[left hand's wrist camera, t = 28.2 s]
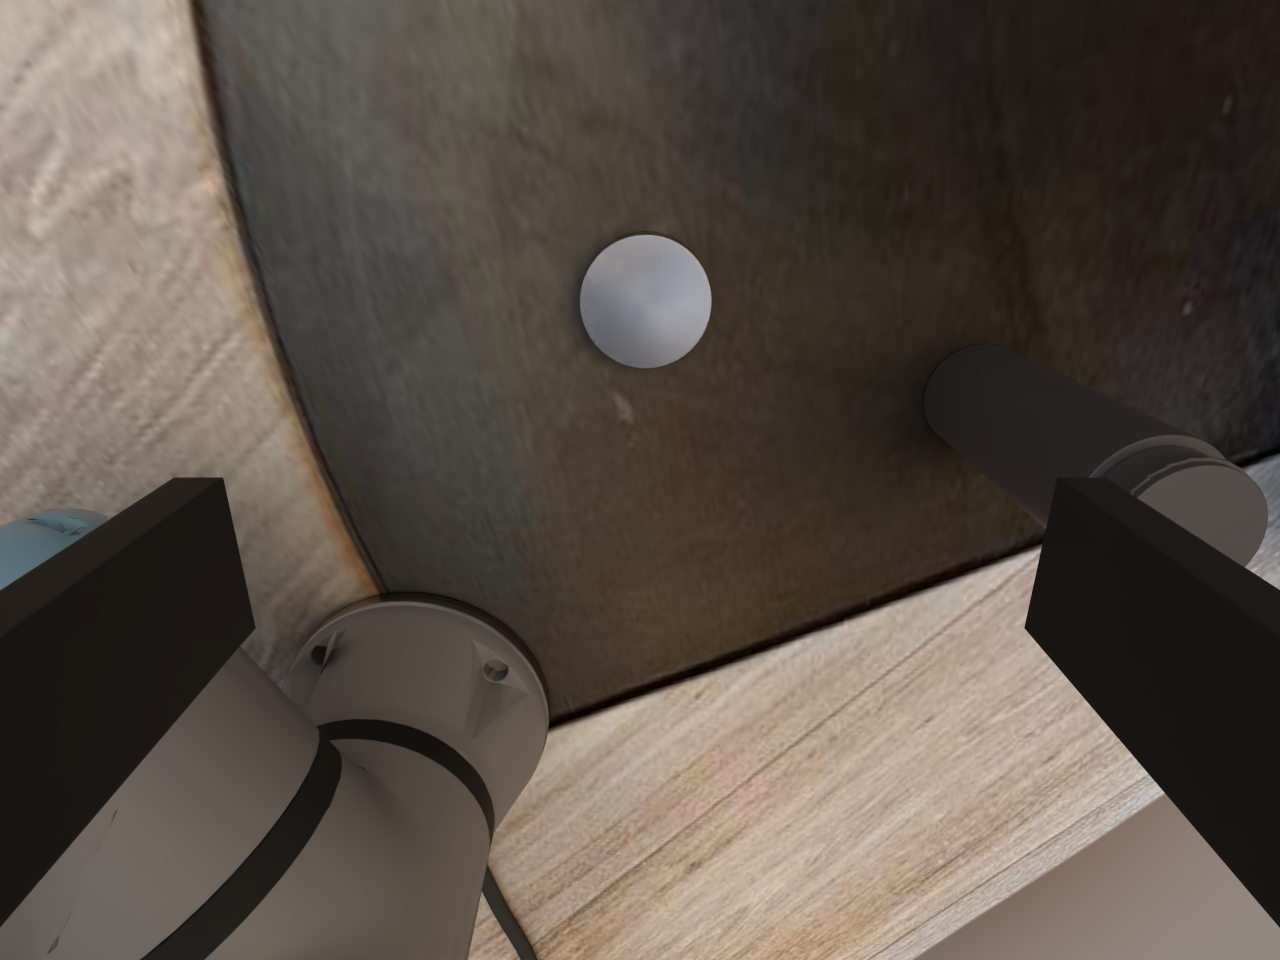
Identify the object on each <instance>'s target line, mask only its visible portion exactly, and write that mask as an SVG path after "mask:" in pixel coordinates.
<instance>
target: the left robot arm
mask: <svg viewBox="0 0 1280 960" xmlns="http://www.w3.org/2000/svg"><path fill="white" fill-rule="evenodd" d="M254 629H255V623H254V619H253V614H252V609H251V605H250V600H249V596H248V591H247V586H246V582H245V577H244V572H243V568H242V563H241V559H240V554H239V549H238V545H237V540H236V535H235V531H234V526H233V522H232V517H231V512H230V508H229V503H228V498H227V494H226V489H225V485H224V480H223V478H173V479H171V480H170V481H168V482H167V483H165V484H164V485H162V486H161V487H159V488H158V489H156V490H154V491H153V492H151V493H150V494H148V495H147V496H145V497H144V498H142V499H141V500H139V501H137V502H136V503H134V504H133V505H131V506H130V507H128V508H127V509H125V510H124V511H122V512H120V513H119V514H117V515H116V516H114V517H113V518H111V519H110V518H108V517H106V516H104V515H102V514H99V513H96V512H92V511H88V510H82V509H60V510H53V511H48V512H43V513H40V514H36V515H33V516H29V517H26V518H23V519H21V520H18V521H15V522H12V523H10V524H7V525H5V526H2V527H0V960H468V956H469V951H470V946H471V941H472V936H473V931H474V926H475V921H476V916H477V911H478V906H479V901H480V896H481V891H482V892H483V894H484V896H485V898H486V900H487V902H488V904H489V906H490V908H491V910H492V912H493V913H494V915H495V917H496V919H497V920H498V922H499V924H500V925H501V927H502V929H503V930H504V932H505V933H506V935H507V936H508V938H509V940H510V941H511V943H512V944H513V946H514V948H515V949H516V951H517V953H518V955H519V957H520V959H521V960H537V958H536V955H535V953H534V951H533V948H532V946H531V944H530V943H529V941H528V939H527V937H526V935H525V934H524V932H523V930H522V929H521V927H520V926H519V924H518V922H517V921H516V919H515V918H514V916H513V914H512V913H511V911H510V909H509V907H508V906H507V904H506V902H505V900H504V898H503V896H502V894H501V892H500V890H499V888H498V886H497V884H496V882H495V880H494V878H493V876H492V873H491V871H490V869H489V867H488V865H487V861H488V856H489V851H490V847H491V842H492V838H493V834H494V832H495V830H496V829H497V827H498V826H499V824H500V823H501V821H502V820H503V818H504V817H505V815H506V814H507V812H508V811H509V809H510V808H511V807H512V805H513V804H514V802H515V801H516V799H517V798H518V796H519V795H520V793H521V792H522V790H523V789H524V787H525V786H526V785H527V783H528V782H529V780H530V779H531V777H532V775H533V773H534V772H535V770H536V767H537V765H538V763H539V760H540V758H541V755H542V752H543V750H544V746H545V743H546V739H547V733H548V727H549V720H550V699H549V692H548V688H547V684H546V681H545V678H544V675H543V673H542V671H541V669H540V666H539V664H538V663H537V661H536V659H535V658H534V656H533V655H532V653H531V652H530V650H529V649H528V648H527V647H526V645H525V644H524V643H523V642H522V641H521V640H520V639H519V638H518V637H517V636H516V635H515V634H514V633H513V632H512V631H511V630H510V629H509V628H507V627H506V626H505V625H503V624H502V623H501V622H499V621H498V620H497V619H495V618H493V617H492V616H490V615H488V614H487V613H485V612H483V611H481V610H479V609H477V608H475V607H473V606H470V605H468V604H465V603H463V602H460V601H456V600H453V599H450V598H446V597H441V596H436V595H430V594H422V593H395V594H387V595H381V596H376V597H372V598H368V599H365V600H362V601H359V602H356V603H354V604H352V605H350V606H347V607H345V608H344V609H342V610H340V611H338V612H337V613H335V614H334V615H332V616H331V617H330V618H328V619H327V620H326V621H325V622H323V623H322V624H321V625H320V626H319V627H318V628H317V629H316V630H315V631H314V633H313V634H312V635H311V636H310V638H309V639H308V640H307V642H306V643H305V645H304V646H303V647H302V649H301V650H300V652H299V653H298V655H297V656H296V658H295V660H294V662H293V664H292V666H291V668H290V671H289V673H288V675H287V677H286V680H285V683H284V685H283V689H282V690H281V689H280V688H279V687H278V686H277V685H276V684H275V683H274V682H273V681H272V680H271V679H270V678H269V677H268V676H267V675H266V673H265V672H264V671H263V670H262V669H261V668H260V667H259V666H258V665H257V664H256V663H255V662H254V661H253V660H252V659H251V658H250V656H249V655H248V654H247V653H246V652H245V651H244V650H243V649H242V648H241V647H240V646H241V644H242V643H243V642H244V641H245V640H246V639H247V637H248V636H249V635H250V634H251V633H252V632H253V630H254ZM1025 629H1026V630H1027V632H1028V633H1029V634H1030V635H1031V636H1032V637H1033V639H1034V640H1035V641H1036V642H1037V643H1038V644H1039V646H1040V647H1041V648H1042V649H1043V650H1044V651H1045V653H1046V654H1047V655H1048V656H1049V657H1050V659H1051V660H1052V661H1053V662H1054V663H1055V664H1056V666H1057V667H1058V668H1059V669H1060V670H1061V671H1062V673H1063V674H1064V675H1065V676H1066V677H1067V678H1068V680H1069V681H1070V682H1071V683H1072V684H1073V686H1074V687H1075V688H1076V689H1077V690H1078V691H1079V693H1080V694H1081V695H1082V696H1083V697H1084V698H1085V700H1086V701H1087V702H1088V703H1089V704H1090V705H1091V707H1092V708H1093V709H1094V710H1095V711H1096V713H1097V714H1098V715H1099V716H1100V717H1101V718H1102V720H1103V721H1104V722H1105V723H1106V724H1107V725H1108V727H1109V728H1110V729H1111V730H1112V731H1113V732H1114V734H1115V735H1116V736H1117V737H1118V738H1119V739H1120V741H1121V742H1122V743H1123V744H1124V745H1125V747H1126V748H1127V749H1128V750H1129V751H1130V752H1131V754H1132V755H1133V756H1134V757H1135V758H1136V759H1137V761H1138V762H1139V763H1140V764H1141V765H1142V766H1143V768H1144V769H1145V770H1146V771H1147V772H1148V774H1149V775H1150V776H1151V777H1152V778H1153V779H1154V781H1155V782H1156V783H1157V784H1158V785H1159V786H1160V788H1161V789H1162V790H1163V791H1164V792H1165V793H1166V795H1167V796H1168V797H1169V798H1170V799H1171V800H1172V802H1173V803H1174V804H1175V805H1176V806H1177V808H1178V809H1179V810H1180V811H1181V812H1182V813H1183V814H1184V816H1185V817H1186V818H1187V819H1188V820H1189V822H1190V823H1191V824H1192V825H1193V826H1194V828H1195V829H1196V830H1197V831H1198V832H1199V833H1200V835H1201V836H1202V837H1203V838H1204V839H1205V840H1206V842H1207V843H1208V844H1209V845H1210V846H1211V847H1212V849H1213V850H1214V851H1215V852H1216V853H1217V854H1218V856H1219V857H1220V858H1221V859H1222V860H1223V861H1224V863H1225V864H1226V865H1227V866H1228V867H1229V869H1230V870H1231V871H1232V872H1233V873H1234V874H1235V876H1236V877H1237V878H1238V879H1239V880H1240V881H1241V883H1242V884H1243V885H1244V886H1245V887H1246V889H1247V890H1248V891H1249V892H1250V893H1251V894H1252V896H1253V897H1254V898H1255V899H1256V900H1257V901H1258V903H1259V904H1260V905H1261V906H1262V907H1263V908H1264V910H1265V911H1266V912H1267V913H1268V914H1269V916H1270V917H1271V918H1272V919H1273V920H1274V921H1275V922H1276V924H1277V925H1278V926H1279V927H1280V590H1279V589H1277V588H1276V587H1274V586H1273V585H1271V584H1269V583H1268V582H1266V581H1265V580H1263V579H1262V578H1260V577H1259V576H1257V575H1256V574H1254V573H1252V572H1251V571H1249V570H1248V569H1246V568H1245V567H1243V566H1242V565H1240V564H1239V563H1237V562H1235V561H1234V560H1232V559H1231V558H1229V557H1228V556H1226V555H1225V554H1223V553H1221V552H1220V551H1218V550H1217V549H1215V548H1214V547H1212V546H1211V545H1209V544H1208V543H1206V542H1204V541H1203V540H1201V539H1200V538H1198V537H1197V536H1195V535H1194V534H1192V533H1191V532H1189V531H1187V530H1186V529H1184V528H1183V527H1181V526H1180V525H1178V524H1177V523H1175V522H1174V521H1172V520H1170V519H1169V518H1167V517H1166V516H1164V515H1163V514H1161V513H1160V512H1158V511H1156V510H1155V509H1153V508H1152V507H1150V506H1149V505H1147V504H1146V503H1144V502H1143V501H1141V500H1139V499H1138V498H1136V497H1135V496H1133V495H1132V494H1130V493H1129V492H1127V491H1126V490H1124V489H1122V488H1121V487H1119V486H1118V485H1116V484H1115V483H1113V482H1112V481H1110V480H1109V479H1107V478H1057V480H1056V485H1055V489H1054V494H1053V498H1052V503H1051V508H1050V512H1049V517H1048V522H1047V526H1046V531H1045V535H1044V540H1043V545H1042V549H1041V554H1040V559H1039V563H1038V568H1037V572H1036V577H1035V582H1034V586H1033V591H1032V596H1031V600H1030V605H1029V609H1028V614H1027V619H1026V623H1025Z"/></svg>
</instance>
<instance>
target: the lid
mask: <svg viewBox="0 0 1280 960" xmlns="http://www.w3.org/2000/svg"><path fill="white" fill-rule="evenodd" d="M711 309H712V293H711V288H710V283H709V280H708V277H707V275H706V273H705V270H704V268H703V267H702V265H701V264H700V262H699V261H698V259H697V258H696V256H695V255H694V254H693V253H692V252H691V251H690V249H688V248H687V247H686V246H685V245H684V244H682V243H681V242H680V241H678V240H677V239H674V238H672V237H670V236H668V235H665V234H662V233H657V232H649V231H642V232H634V233H630V234H626V235H624V236H621V237H619V238H617V239H615V240H613V241H612V242H610V243H609V244H608V245H606V246H605V247H604V248H603V249H602V250H601V251H600V252H599V253H598V254H597V255H596V257H595V258H594V259H593V261H592V263H591V265H590V266H589V268H588V270H587V272H586V274H585V276H584V279H583V282H582V286H581V291H580V313H581V317H582V321H583V324H584V327H585V329H586V332H587V333H588V335H589V337H590V339H591V340H592V341H593V343H594V344H595V345H596V346H597V347H598V349H599V350H600V351H601V352H603V353H604V354H605V355H606V356H608V357H609V358H611V359H612V360H614V361H616V362H618V363H620V364H623V365H626V366H629V367H634V368H642V369H649V368H658V367H662V366H666V365H668V364H671V363H673V362H675V361H677V360H679V359H681V358H682V357H683V356H685V355H686V354H687V353H689V352H690V351H691V350H692V349H693V348H694V347H695V346H696V344H697V343H698V342H699V340H700V339H701V337H702V336H703V334H704V332H705V330H706V328H707V325H708V323H709V320H710V315H711Z"/></svg>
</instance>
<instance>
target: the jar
mask: <svg viewBox="0 0 1280 960" xmlns="http://www.w3.org/2000/svg"><path fill="white" fill-rule="evenodd" d="M924 411H925V415H926V419H927V421H928V423H929V425H930V426H931V428H932V429H933V431H934V432H935V433H936V434H937V435H938V436H940V437H941V438H942V439H943V440H944V441H945V442H946V443H948V444H949V445H950V446H951V447H952V448H953V449H955V450H956V451H957V452H958V453H959V454H960V455H961V456H963V457H964V458H965V459H966V460H967V461H968V462H970V463H971V464H972V465H973V466H974V467H975V468H976V469H978V470H979V471H980V472H981V473H982V474H983V475H985V476H986V477H987V478H988V479H989V480H990V481H991V482H993V483H994V484H995V485H996V486H997V487H998V488H1000V489H1001V490H1002V491H1003V492H1004V493H1005V494H1006V495H1008V496H1009V497H1010V498H1011V499H1012V500H1013V501H1015V502H1016V503H1017V504H1018V505H1019V506H1020V507H1021V508H1023V509H1024V510H1025V511H1026V512H1027V513H1028V514H1030V515H1031V516H1032V517H1033V518H1034V519H1035V520H1036V521H1038V522H1039V523H1040V524H1041V525H1042V526H1043V527H1045V528H1046V526H1047V522H1048V517H1049V512H1050V508H1051V503H1052V498H1053V494H1054V489H1055V485H1056V480H1057V478H1107V479H1109V480H1110V481H1112V482H1113V483H1115V484H1116V485H1118V486H1119V487H1121V488H1122V489H1124V490H1126V491H1127V492H1129V493H1130V494H1132V495H1133V496H1135V497H1136V498H1138V499H1139V500H1141V501H1143V502H1144V503H1146V504H1147V505H1149V506H1150V507H1152V508H1153V509H1155V510H1156V511H1158V512H1160V513H1161V514H1163V515H1164V516H1166V517H1167V518H1169V519H1170V520H1172V521H1174V522H1175V523H1177V524H1178V525H1180V526H1181V527H1183V528H1184V529H1186V530H1187V531H1189V532H1191V533H1192V534H1194V535H1195V536H1197V537H1198V538H1200V539H1201V540H1203V541H1204V542H1206V543H1208V544H1209V545H1211V546H1212V547H1214V548H1215V549H1217V550H1218V551H1220V552H1221V553H1223V554H1225V555H1226V556H1228V557H1229V558H1231V559H1232V560H1234V561H1235V562H1237V563H1239V564H1240V565H1242V566H1243V567H1245V566H1246V565H1247V564H1248V563H1249V562H1250V560H1251V559H1252V558H1253V557H1254V555H1255V554H1256V552H1257V550H1258V549H1259V547H1260V545H1261V543H1262V541H1263V538H1264V535H1265V532H1266V528H1267V522H1268V510H1267V504H1266V500H1265V497H1264V495H1263V493H1262V491H1261V489H1260V488H1259V487H1258V485H1257V484H1256V483H1255V482H1254V481H1253V480H1252V479H1251V478H1250V477H1249V476H1248V475H1247V474H1246V473H1245V472H1244V470H1243V469H1242V468H1240V467H1238V466H1236V465H1234V464H1233V463H1231V462H1229V461H1227V460H1226V459H1225V458H1224V456H1223V455H1222V454H1221V453H1220V452H1219V451H1218V450H1217V449H1216V448H1215V447H1213V446H1212V445H1210V444H1208V443H1207V442H1205V441H1203V440H1201V439H1198V438H1196V437H1194V436H1192V435H1190V434H1188V433H1186V432H1184V431H1181V430H1179V429H1177V428H1175V427H1173V426H1171V425H1169V424H1166V423H1164V422H1162V421H1160V420H1158V419H1156V418H1154V417H1152V416H1149V415H1147V414H1145V413H1143V412H1141V411H1139V410H1137V409H1134V408H1132V407H1130V406H1128V405H1126V404H1124V403H1122V402H1119V401H1117V400H1115V399H1113V398H1111V397H1109V396H1107V395H1105V394H1102V393H1100V392H1098V391H1096V390H1094V389H1092V388H1090V387H1087V386H1085V385H1083V384H1081V383H1079V382H1077V381H1075V380H1073V379H1070V378H1068V377H1066V376H1064V375H1062V374H1060V373H1058V372H1055V371H1053V370H1051V369H1049V368H1047V367H1045V366H1043V365H1041V364H1038V363H1036V362H1034V361H1032V360H1030V359H1028V358H1026V357H1023V356H1021V355H1019V354H1017V353H1015V352H1013V351H1011V350H1009V349H1006V348H1004V347H1002V346H998V345H993V344H978V345H972V346H969V347H966V348H963V349H961V350H959V351H957V352H955V353H953V354H952V355H950V356H949V357H947V358H946V359H945V360H944V361H943V362H942V363H941V364H940V365H939V366H938V367H937V368H936V370H935V371H934V372H933V374H932V376H931V377H930V379H929V382H928V384H927V386H926V390H925V395H924Z"/></svg>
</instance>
